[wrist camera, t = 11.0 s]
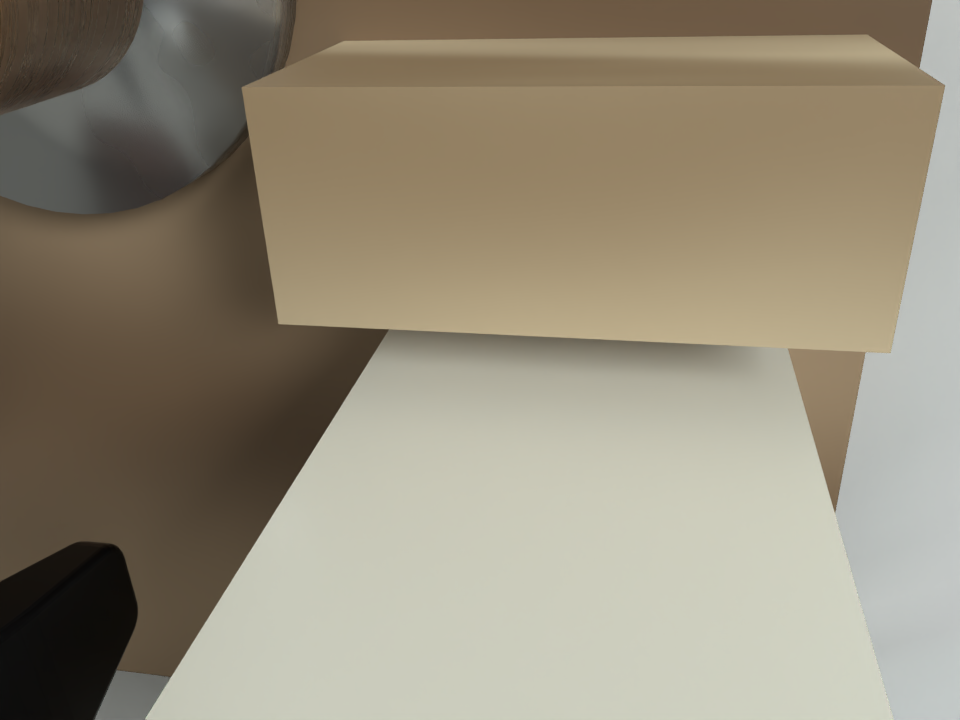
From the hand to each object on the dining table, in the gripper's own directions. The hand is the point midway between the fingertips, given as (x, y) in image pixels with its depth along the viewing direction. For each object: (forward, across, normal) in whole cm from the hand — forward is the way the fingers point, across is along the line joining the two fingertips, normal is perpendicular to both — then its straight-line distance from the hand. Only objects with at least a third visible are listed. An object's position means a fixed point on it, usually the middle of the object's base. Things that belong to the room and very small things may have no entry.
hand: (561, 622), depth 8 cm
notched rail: (+3, 0, 0) cm, 3 cm away
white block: (+3, 0, 0) cm, 3 cm away
